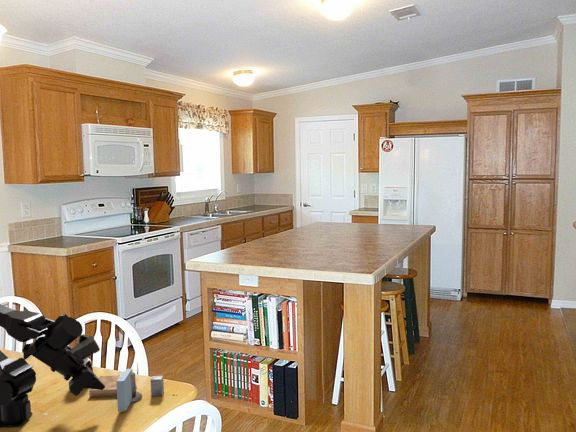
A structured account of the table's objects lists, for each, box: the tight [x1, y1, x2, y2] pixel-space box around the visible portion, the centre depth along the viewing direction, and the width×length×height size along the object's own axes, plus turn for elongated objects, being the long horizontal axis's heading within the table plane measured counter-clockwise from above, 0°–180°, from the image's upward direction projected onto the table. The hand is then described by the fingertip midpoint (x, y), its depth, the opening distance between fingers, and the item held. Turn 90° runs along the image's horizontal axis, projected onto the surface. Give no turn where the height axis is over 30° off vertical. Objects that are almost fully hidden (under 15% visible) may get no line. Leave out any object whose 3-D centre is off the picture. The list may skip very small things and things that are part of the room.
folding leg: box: [116, 368, 134, 412], centre depth 136 cm, size 9×2×8 cm, turn 3°
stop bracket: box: [150, 375, 165, 398], centre depth 142 cm, size 3×2×5 cm
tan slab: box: [88, 372, 143, 404], centre depth 144 cm, size 15×15×7 cm
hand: (103, 387), depth 132 cm, fingers closed
